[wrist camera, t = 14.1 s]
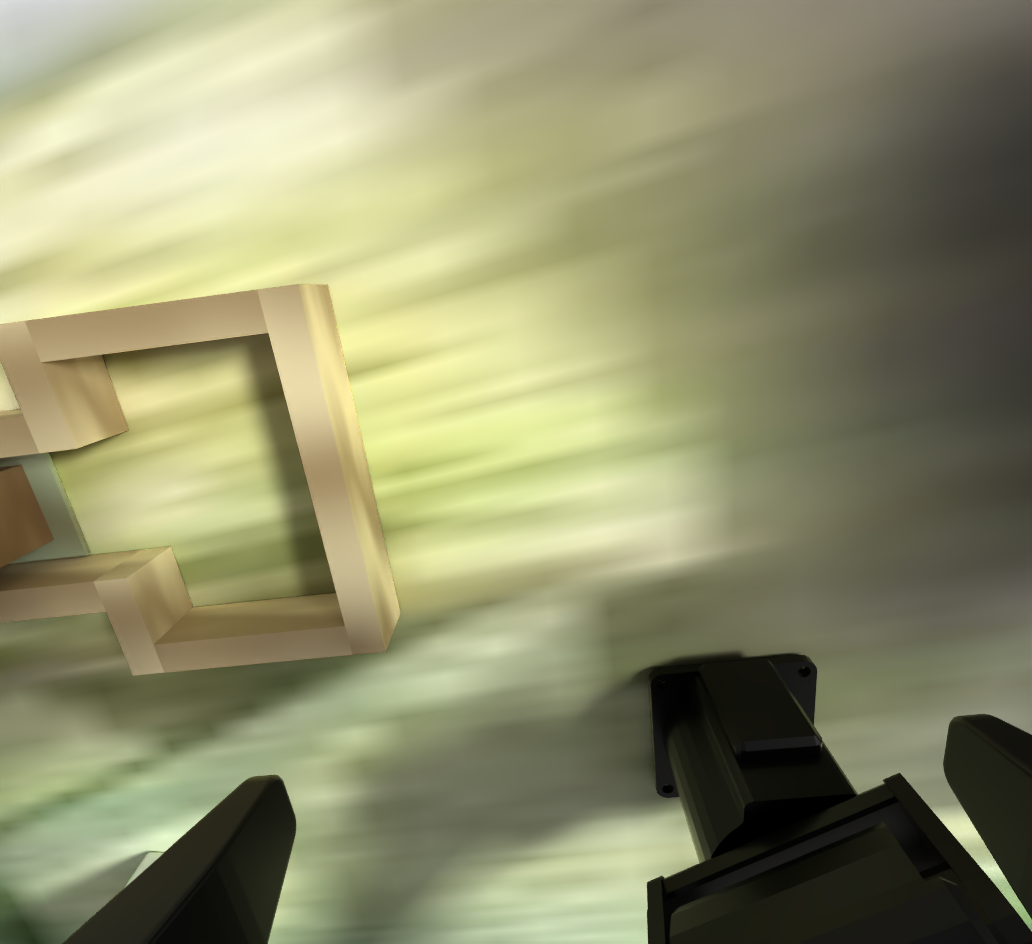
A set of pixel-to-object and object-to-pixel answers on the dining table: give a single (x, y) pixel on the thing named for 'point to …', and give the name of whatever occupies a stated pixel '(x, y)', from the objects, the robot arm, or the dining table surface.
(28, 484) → the tan brick
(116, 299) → the dining table surface
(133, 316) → the keyhole cradle
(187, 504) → the dining table surface
